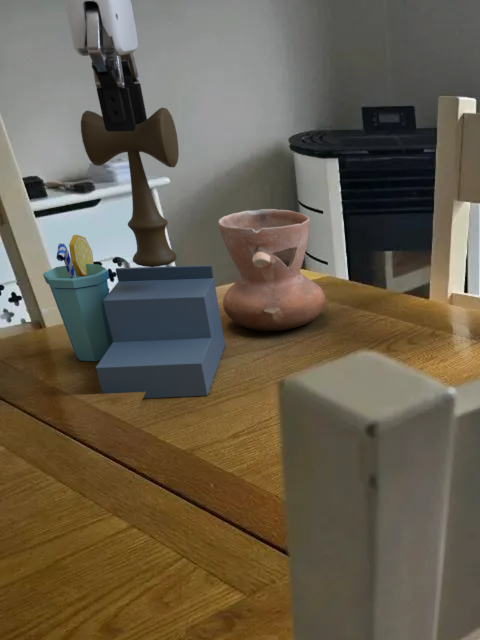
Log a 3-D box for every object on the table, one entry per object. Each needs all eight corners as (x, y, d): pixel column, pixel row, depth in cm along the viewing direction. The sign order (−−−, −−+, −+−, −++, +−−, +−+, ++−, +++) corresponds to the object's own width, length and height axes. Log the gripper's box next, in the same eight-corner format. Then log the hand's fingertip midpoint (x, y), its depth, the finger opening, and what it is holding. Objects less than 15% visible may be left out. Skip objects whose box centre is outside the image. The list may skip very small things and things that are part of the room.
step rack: (104, 400, 97) (79, 310, 91) (135, 349, 112) (116, 267, 105) (207, 395, 98) (190, 305, 92) (225, 345, 113) (211, 264, 106)
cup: (123, 372, 104) (93, 246, 96) (58, 378, 103) (21, 251, 94) (130, 337, 115) (103, 222, 107) (71, 342, 114) (39, 225, 105)
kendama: (189, 270, 99) (154, 73, 88) (109, 271, 99) (62, 74, 87) (200, 258, 104) (168, 69, 92) (124, 258, 104) (82, 70, 92)
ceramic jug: (324, 340, 114) (313, 230, 105) (218, 343, 113) (198, 232, 105) (330, 302, 128) (321, 202, 120) (236, 305, 128) (221, 204, 119)
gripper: (69, -74, 89) (110, 119, 100) (18, -89, 75) (73, 138, 86) (140, -74, 90) (174, 118, 100) (103, -88, 76) (146, 136, 86)
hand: (127, 125), depth 93 cm, fingers closed on kendama, 5 cm apart
